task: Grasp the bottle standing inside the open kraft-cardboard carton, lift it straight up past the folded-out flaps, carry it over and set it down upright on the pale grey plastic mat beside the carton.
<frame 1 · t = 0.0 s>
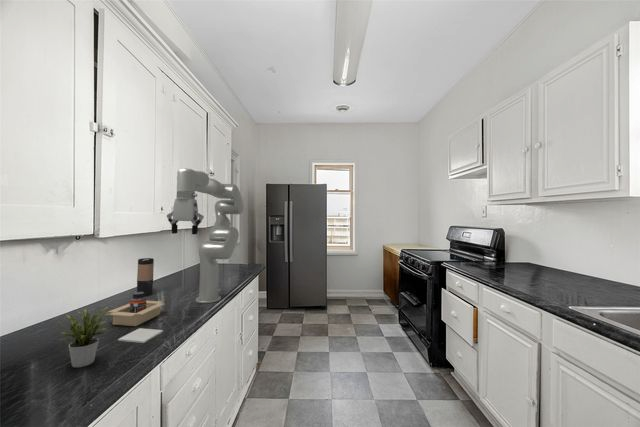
hand: (184, 233, 128), 37 cm above the table, tool pointing down, fingers open, 9 cm apart
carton: (137, 319, 121), on the table
travel mug: (144, 295, 157), on the table
house plant: (89, 362, 86), on the table
supplement bottle: (137, 319, 121), resting in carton
mat: (141, 336, 105), on the table
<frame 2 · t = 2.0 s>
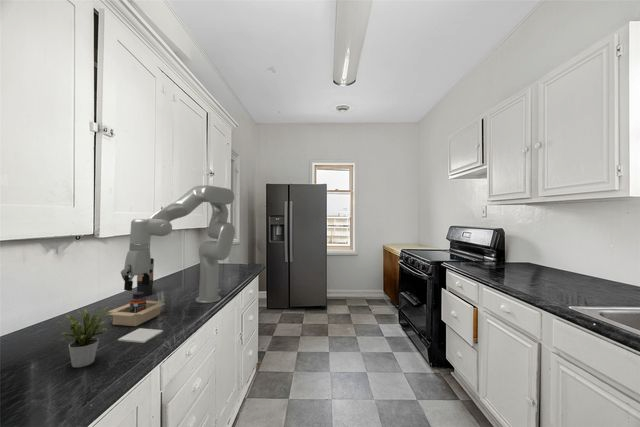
hand: (137, 287, 121), 14 cm above the table, tool pointing down, fingers open, 9 cm apart
nothing on the table moved.
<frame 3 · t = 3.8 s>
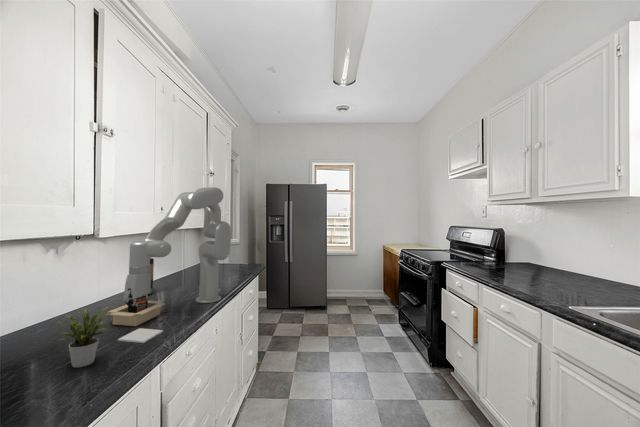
hand: (137, 311, 121), 3 cm above the table, tool pointing down, fingers closed on supplement bottle, 6 cm apart
supplement bottle: (137, 319, 121), resting in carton, touching gripper
everything else where it was.
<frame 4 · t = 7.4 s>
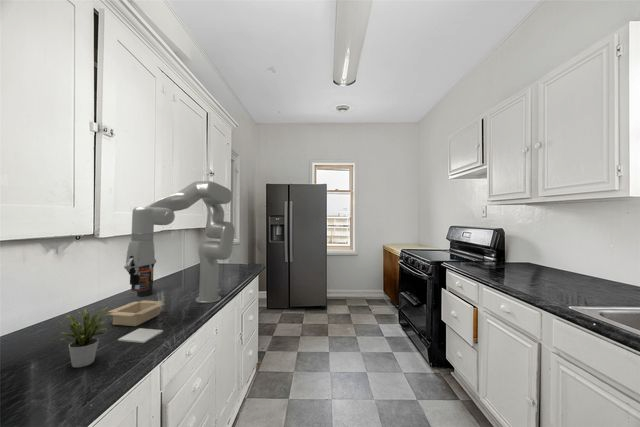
hand: (140, 282, 113), 18 cm above the table, tool pointing down, fingers closed on supplement bottle, 6 cm apart
supplement bottle: (140, 290, 113), point 14 cm above the table, touching gripper
everything else where it was.
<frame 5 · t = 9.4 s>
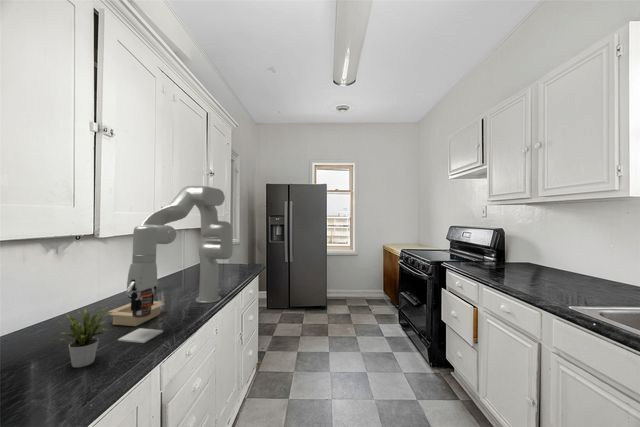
hand: (142, 307, 105), 11 cm above the table, tool pointing down, fingers closed on supplement bottle, 6 cm apart
supplement bottle: (141, 316, 105), point 7 cm above the table, touching gripper
everything else where it was.
when the fingers open (5 cm above the table, at t = 11.3 s): supplement bottle drops 1 cm, resting on mat.
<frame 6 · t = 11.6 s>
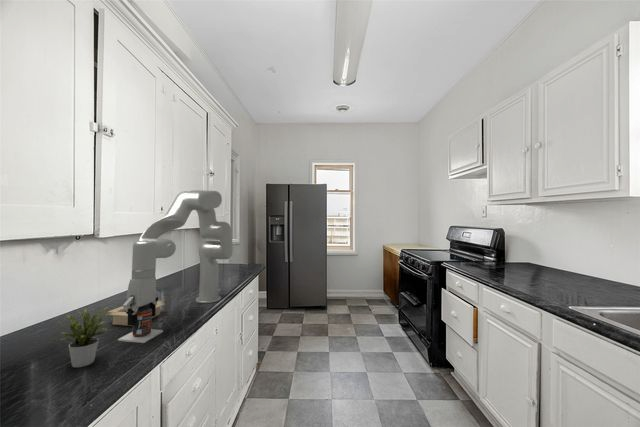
hand: (142, 320, 105), 6 cm above the table, tool pointing down, fingers open, 9 cm apart
supplement bottle: (141, 334, 105), resting on mat
everything else where it was.
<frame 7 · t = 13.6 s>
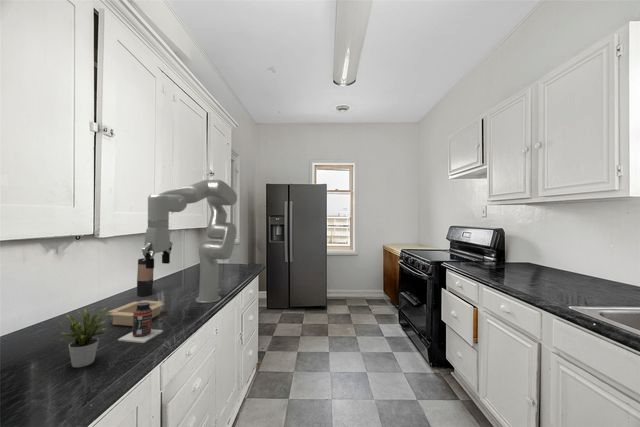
hand: (158, 265, 117), 24 cm above the table, tool pointing down, fingers open, 9 cm apart
nothing on the table moved.
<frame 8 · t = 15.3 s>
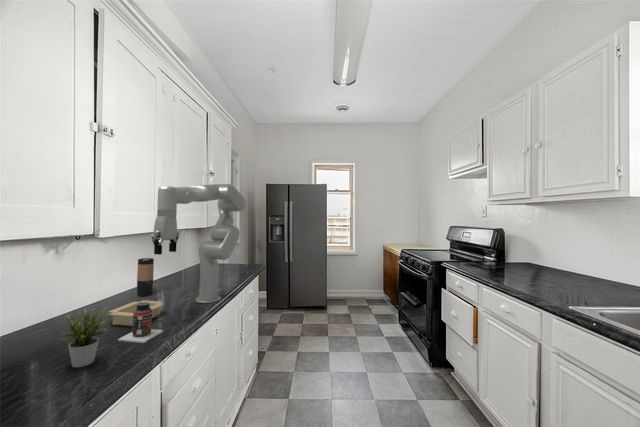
hand: (165, 252, 125), 28 cm above the table, tool pointing down, fingers open, 9 cm apart
nothing on the table moved.
at the end: supplement bottle inside the target area on the mat (0.3 cm from its centre), point 0.4 cm above the mat's base; supplement bottle tilted 0°; the gripper is holding nothing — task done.
